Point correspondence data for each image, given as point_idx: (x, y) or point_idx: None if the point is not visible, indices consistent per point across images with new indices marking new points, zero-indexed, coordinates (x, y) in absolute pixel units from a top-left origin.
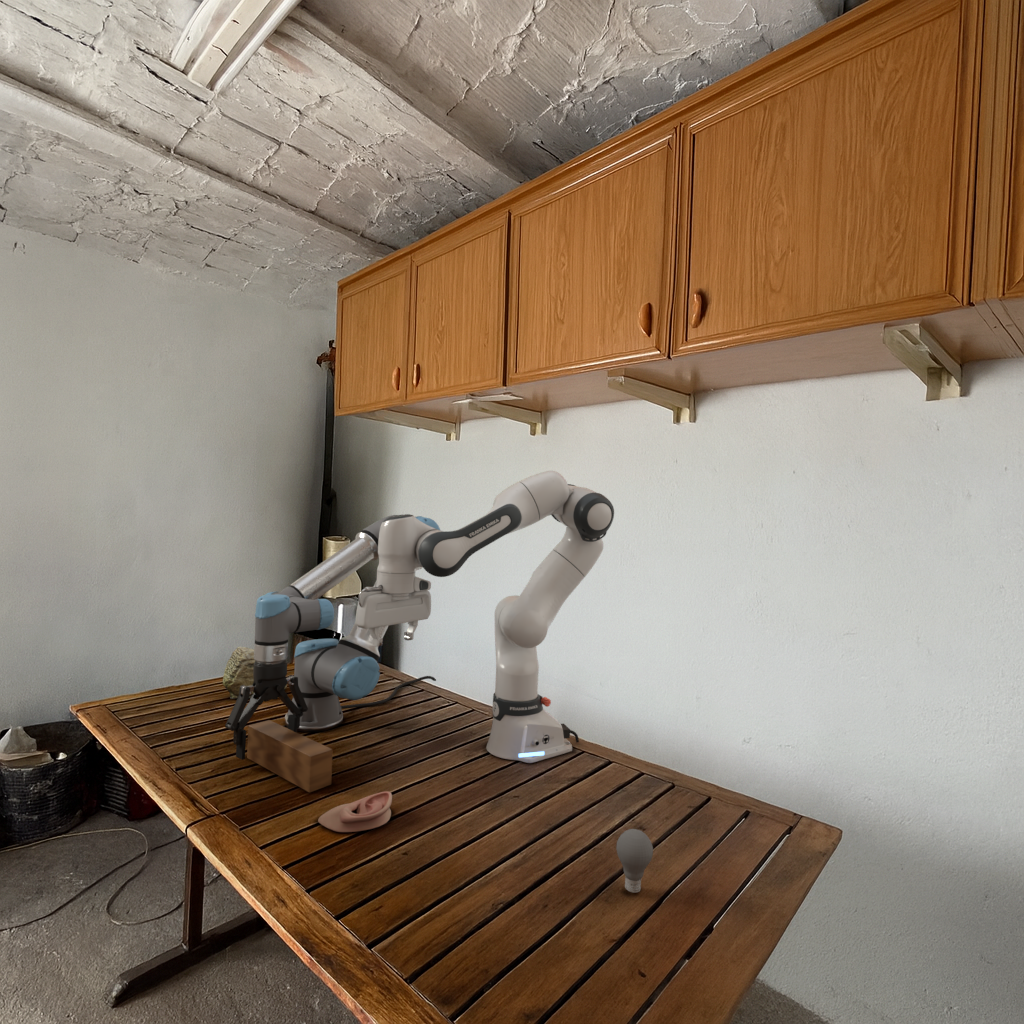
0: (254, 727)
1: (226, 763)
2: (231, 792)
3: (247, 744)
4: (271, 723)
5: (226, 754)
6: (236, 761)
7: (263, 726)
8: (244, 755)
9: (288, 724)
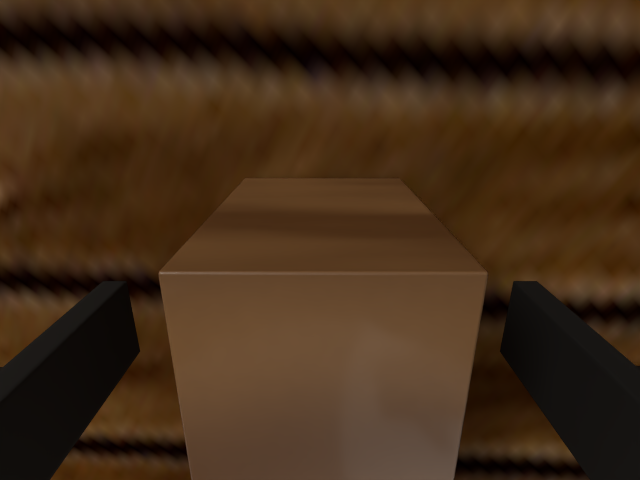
0: (196, 379)
1: (108, 165)
2: None
3: (222, 203)
4: (418, 397)
5: (159, 5)
6: (171, 180)
7: (292, 419)
8: (124, 365)
9: (601, 370)
